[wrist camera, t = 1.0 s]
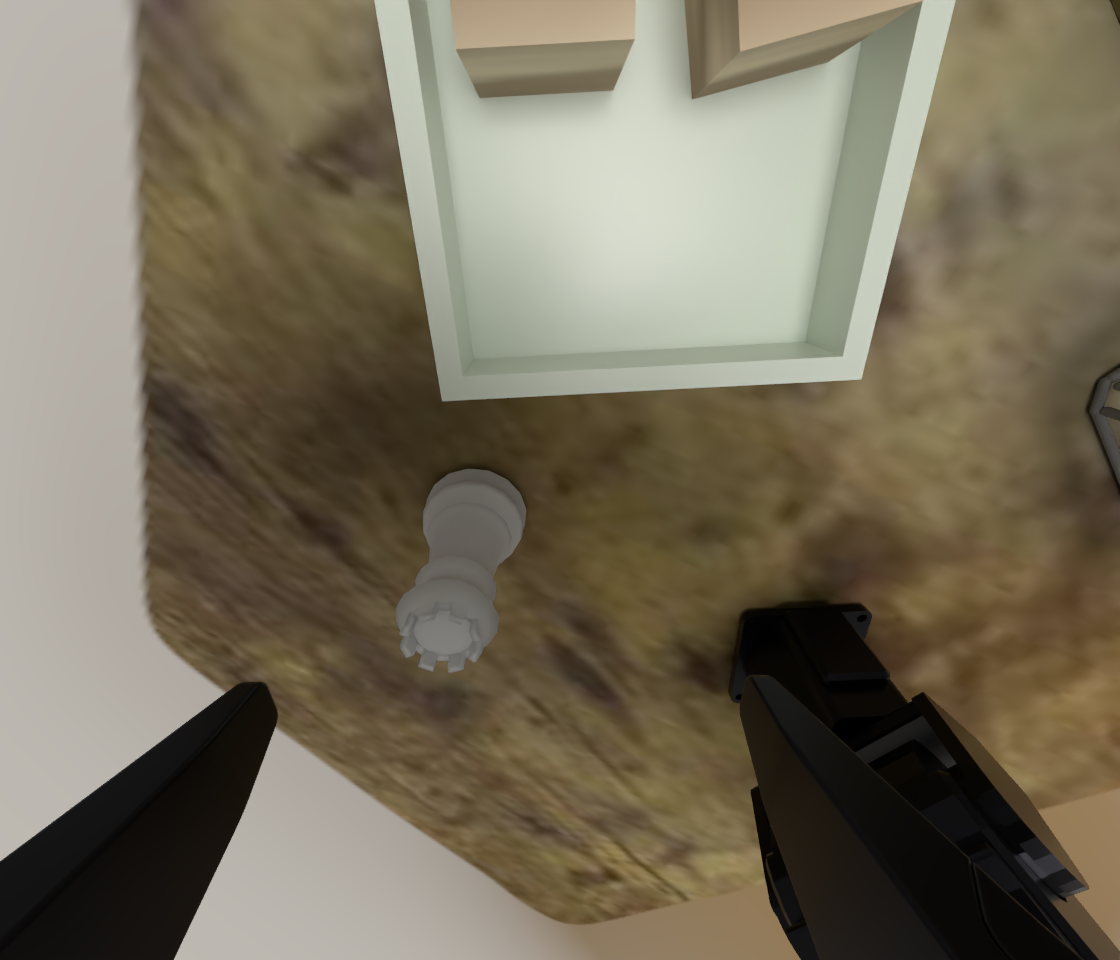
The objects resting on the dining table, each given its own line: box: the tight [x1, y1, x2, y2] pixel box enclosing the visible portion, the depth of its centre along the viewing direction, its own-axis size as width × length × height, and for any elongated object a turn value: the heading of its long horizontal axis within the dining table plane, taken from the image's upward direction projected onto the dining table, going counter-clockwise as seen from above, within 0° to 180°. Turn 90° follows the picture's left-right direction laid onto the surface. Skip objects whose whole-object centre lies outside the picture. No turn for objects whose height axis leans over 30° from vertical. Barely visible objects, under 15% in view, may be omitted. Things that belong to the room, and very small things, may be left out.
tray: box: [374, 0, 956, 401], centre depth 14 cm, size 14×14×3 cm
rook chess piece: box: [396, 469, 526, 673], centre depth 18 cm, size 4×4×8 cm
